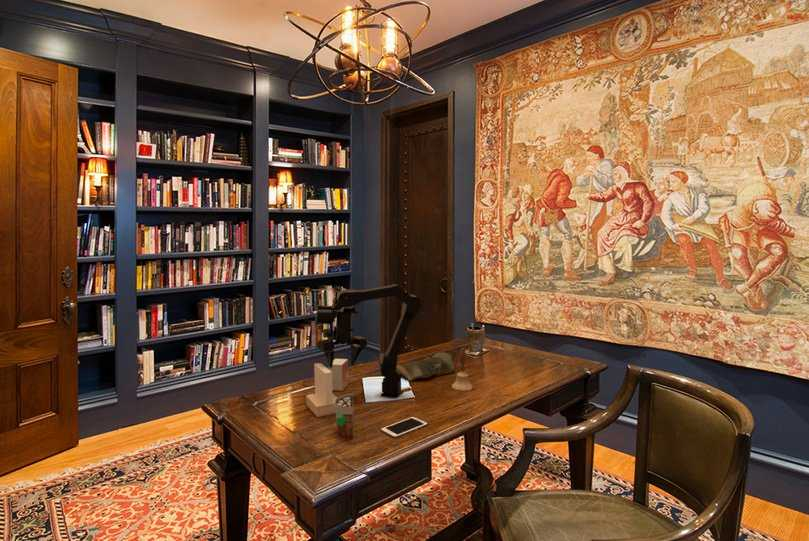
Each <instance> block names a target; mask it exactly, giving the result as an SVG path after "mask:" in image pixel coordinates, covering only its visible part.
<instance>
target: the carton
mask: <svg viewBox="0 0 809 541" xmlns="http://www.w3.org/2000/svg"><path fill="white" fill-rule="evenodd" d="M305 401H306V402H305V403H306V407H307V408H308V409H309V410H310V411H311V412H312V413H313V415H314V416H315V417H316V418H322V417H325V416H330V415H334V414H335V415H336V411H335V410H334V409H333V406H334V405H331V406H326V407H321V408H316V407H315V406H314V405H313V404H312V403H311V401H310V400H309V399H308V398H307V397H306V396H305Z"/></svg>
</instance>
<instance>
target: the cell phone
mask: <svg viewBox="0 0 809 541" xmlns="http://www.w3.org/2000/svg"><path fill="white" fill-rule="evenodd" d="M427 425H428V426H429V423H428V421H425V420H423V419H421V418H419V417H417V416H409V417H407V418H404V419H402V420H398V421H397V422H394V423H391V424H388V425H386V426H383V427H381V428H380V429H379V430H380V431H379V432H380V433H383V434H384V435H387V437H390V438H391V439H394V438H396V439H399V438H401V437H404V436H406V435H409V434H411V433H413V431H414V432H416V431H417V429H419V430H420V428H421V429H423V428H422V427H424V428H426V427H428V426H427ZM425 426H426V427H425ZM415 430H416V431H415ZM410 432H411V433H410ZM408 433H409V434H408ZM405 434H406V435H405ZM403 435H404V436H403ZM400 436H401V437H400ZM398 437H399V438H398Z"/></svg>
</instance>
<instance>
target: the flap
mask: <svg viewBox="0 0 809 541" xmlns="http://www.w3.org/2000/svg"><path fill="white" fill-rule="evenodd" d="M313 365H314V370H313V371H314V391H315V392H314V393H310V394H307V395H306V396H305V398H306V397H307V398H308V399H309V400H310V401H311V403H312V404H313V405H314V406H315V407H316V408H321V407H326V406H331V405H334V402H335V400H336V398H338V396H337V395H335V393H333V390H332V372H331V371H330V370H329V367H326V366H325V365H324V364H323V363H321V362H319V363H314V364H313Z"/></svg>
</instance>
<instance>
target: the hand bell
mask: <svg viewBox="0 0 809 541" xmlns="http://www.w3.org/2000/svg"><path fill="white" fill-rule="evenodd" d="M466 359H467V352H466V349H465V347H461V348H460V351H459V363H460V369H459V370H460V372H457V373H456V379H455V381H454V382H453V383H452V384H451V389H453V390H456V391H459V392H460V391H461V392H468V391H471V390H473V388H474V386H473V385H472V384H471V382H470V378H469V374H468V373H467V372H466V368H465V367H466V366H465V365H466V361H467V360H466Z"/></svg>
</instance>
